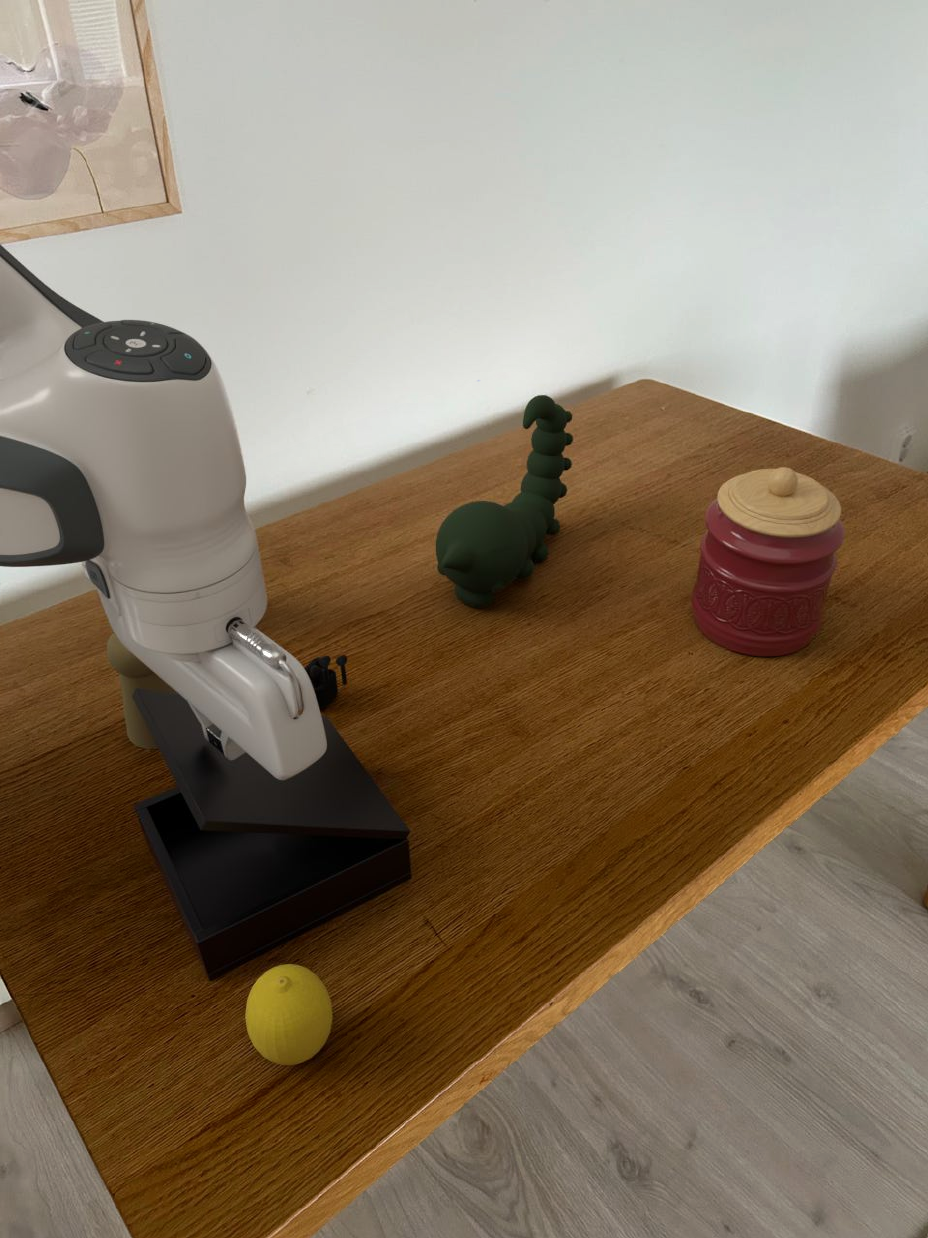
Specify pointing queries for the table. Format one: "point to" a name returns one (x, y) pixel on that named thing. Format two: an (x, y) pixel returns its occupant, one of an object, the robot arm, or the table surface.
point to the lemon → (288, 1014)
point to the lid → (266, 782)
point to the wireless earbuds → (325, 678)
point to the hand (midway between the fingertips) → (228, 745)
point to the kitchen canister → (767, 562)
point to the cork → (131, 678)
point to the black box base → (260, 880)
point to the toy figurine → (509, 516)
